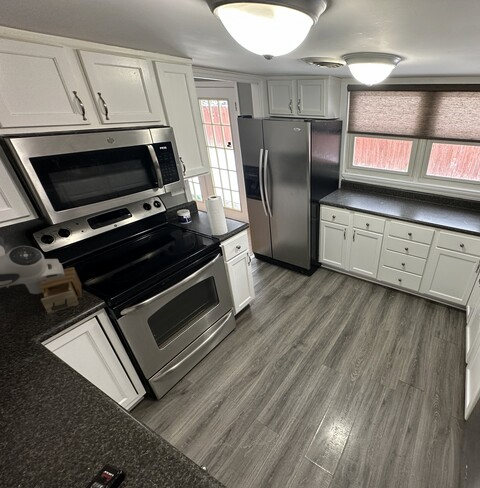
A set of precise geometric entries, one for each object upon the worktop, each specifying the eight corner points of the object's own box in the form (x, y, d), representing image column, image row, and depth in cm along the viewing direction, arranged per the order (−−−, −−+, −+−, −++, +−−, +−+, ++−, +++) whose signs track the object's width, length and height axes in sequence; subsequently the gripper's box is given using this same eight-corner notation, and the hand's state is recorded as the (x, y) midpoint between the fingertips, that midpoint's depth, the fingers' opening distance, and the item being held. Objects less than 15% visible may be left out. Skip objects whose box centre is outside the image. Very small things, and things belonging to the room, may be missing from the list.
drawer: (80, 312, 121) (72, 297, 117) (48, 322, 115) (39, 306, 111) (79, 292, 134) (72, 278, 130) (50, 300, 128) (43, 285, 124)
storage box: (81, 297, 133) (73, 279, 128) (49, 306, 126) (39, 287, 121) (81, 284, 143) (73, 267, 138) (51, 292, 136) (42, 274, 131)
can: (49, 292, 135) (38, 272, 130) (28, 296, 132) (17, 276, 126) (52, 285, 141) (42, 265, 136) (32, 289, 137) (21, 269, 132)
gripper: (-18, 286, 87) (-13, 297, 96) (66, 272, 103) (64, 283, 112) (-22, 269, 88) (-17, 281, 97) (63, 258, 104) (61, 269, 113)
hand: (27, 282), depth 104 cm, fingers open, 8 cm apart
